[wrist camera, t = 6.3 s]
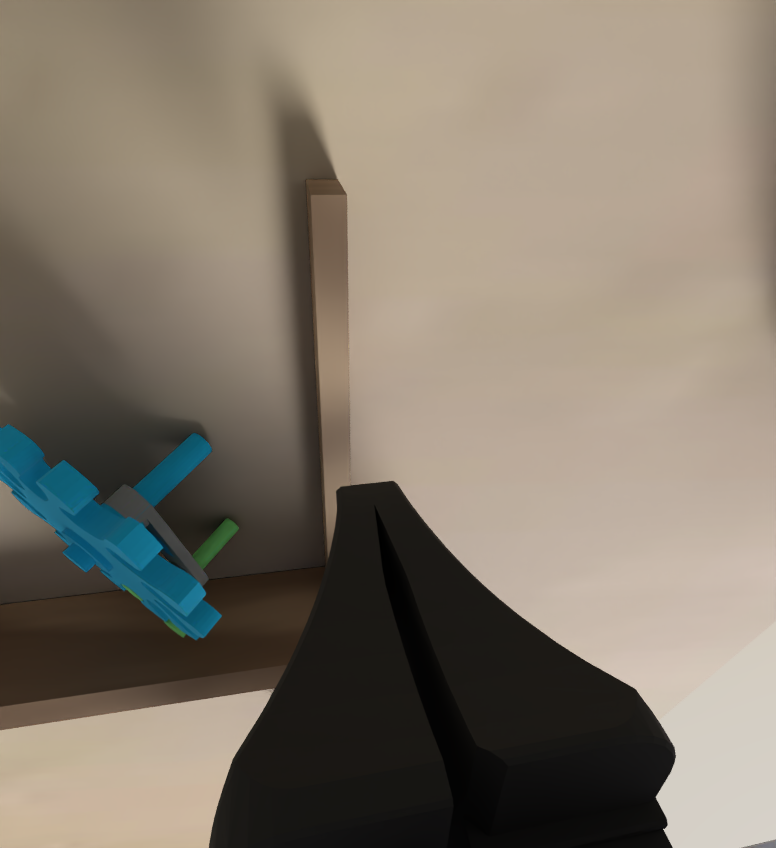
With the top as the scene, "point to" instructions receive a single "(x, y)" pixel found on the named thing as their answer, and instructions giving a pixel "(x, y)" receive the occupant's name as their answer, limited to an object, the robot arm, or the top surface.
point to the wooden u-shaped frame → (232, 597)
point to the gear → (122, 528)
